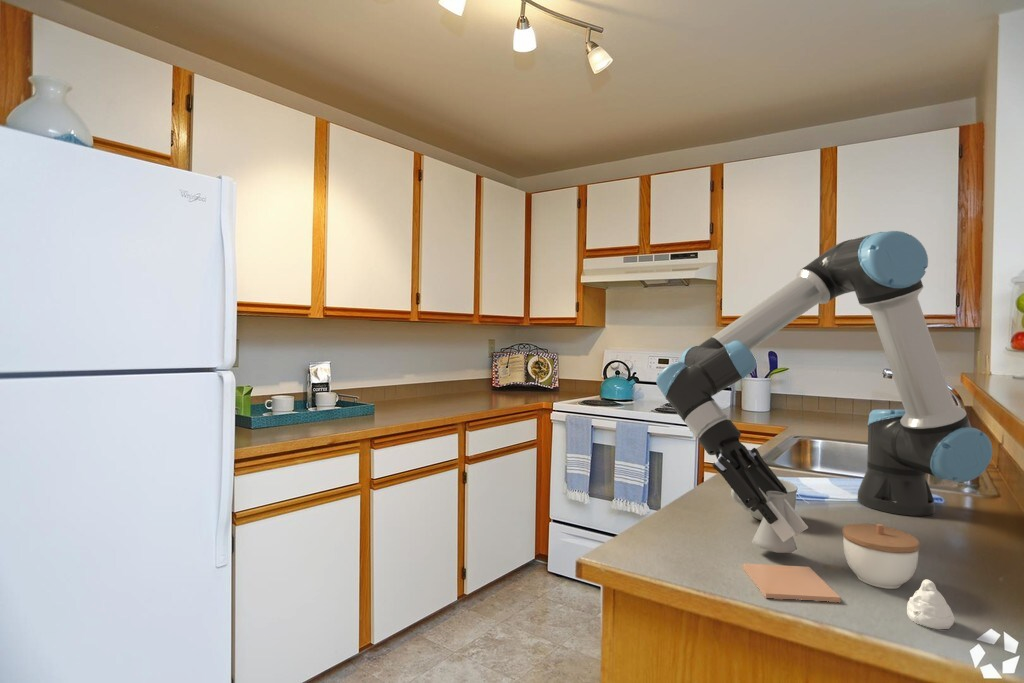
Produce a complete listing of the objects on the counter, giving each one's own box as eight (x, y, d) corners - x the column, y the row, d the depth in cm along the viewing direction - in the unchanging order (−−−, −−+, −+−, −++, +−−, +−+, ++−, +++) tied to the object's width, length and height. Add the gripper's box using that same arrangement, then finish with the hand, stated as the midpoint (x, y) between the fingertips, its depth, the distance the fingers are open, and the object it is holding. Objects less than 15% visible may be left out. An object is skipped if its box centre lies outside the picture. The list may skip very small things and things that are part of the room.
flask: (744, 542, 105) (746, 489, 106) (771, 538, 109) (773, 486, 109) (777, 556, 99) (779, 499, 99) (805, 551, 102) (807, 496, 102)
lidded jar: (890, 601, 87) (892, 540, 87) (826, 572, 97) (828, 518, 96) (933, 588, 91) (935, 531, 91) (868, 562, 101) (870, 511, 101)
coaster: (808, 571, 97) (809, 566, 97) (840, 602, 86) (840, 597, 86) (742, 568, 98) (742, 563, 98) (765, 598, 87) (765, 593, 87)
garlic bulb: (903, 570, 84) (947, 576, 82) (901, 609, 84) (945, 616, 82) (914, 585, 79) (961, 592, 77) (913, 628, 79) (960, 636, 77)
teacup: (785, 511, 129) (786, 476, 129) (804, 528, 118) (806, 490, 118) (722, 508, 130) (723, 474, 130) (736, 525, 119) (737, 487, 119)
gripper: (723, 435, 120) (802, 534, 108) (676, 445, 110) (757, 557, 97) (748, 413, 116) (832, 513, 104) (700, 422, 105) (788, 535, 93)
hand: (795, 534), depth 101 cm, fingers closed on flask, 4 cm apart
